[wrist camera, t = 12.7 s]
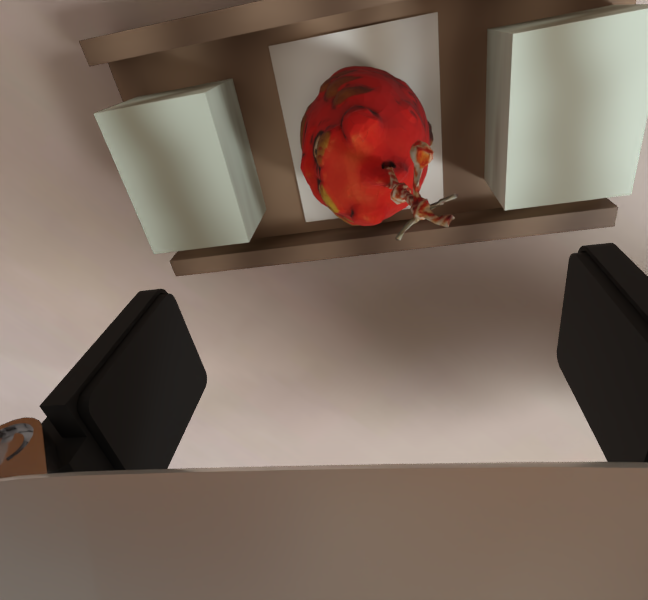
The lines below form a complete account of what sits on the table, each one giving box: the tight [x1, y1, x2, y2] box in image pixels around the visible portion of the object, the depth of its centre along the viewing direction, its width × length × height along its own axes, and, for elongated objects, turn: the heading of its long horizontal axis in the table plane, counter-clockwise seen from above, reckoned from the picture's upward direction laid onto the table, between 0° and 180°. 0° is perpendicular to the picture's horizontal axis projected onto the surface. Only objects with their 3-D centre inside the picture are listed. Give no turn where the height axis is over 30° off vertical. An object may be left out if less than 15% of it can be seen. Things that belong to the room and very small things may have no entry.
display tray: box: [79, 0, 648, 276], centre depth 25 cm, size 28×14×6 cm, turn 100°
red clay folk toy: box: [300, 66, 458, 241], centre depth 20 cm, size 8×7×15 cm
